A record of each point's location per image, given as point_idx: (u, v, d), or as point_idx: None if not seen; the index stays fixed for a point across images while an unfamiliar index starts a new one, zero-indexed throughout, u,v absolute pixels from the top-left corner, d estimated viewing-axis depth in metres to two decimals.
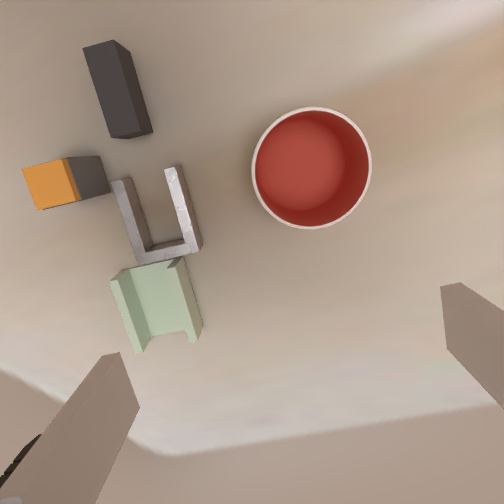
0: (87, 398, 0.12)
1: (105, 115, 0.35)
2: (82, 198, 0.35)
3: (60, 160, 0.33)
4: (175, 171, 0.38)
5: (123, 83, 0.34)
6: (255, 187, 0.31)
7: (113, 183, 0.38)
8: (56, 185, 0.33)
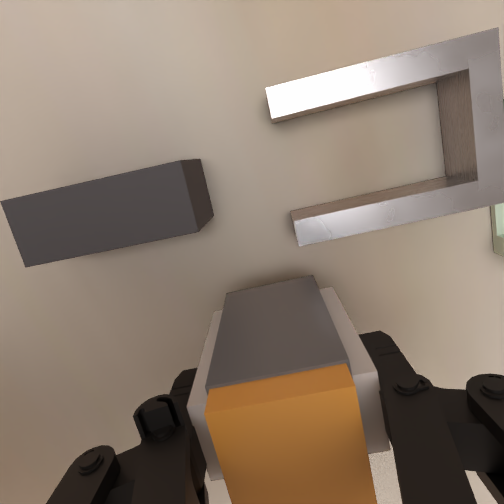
0: None
1: (151, 237, 0.16)
2: (342, 357, 0.10)
3: (209, 415, 0.09)
4: (277, 87, 0.15)
5: (83, 189, 0.15)
6: None
7: (301, 241, 0.17)
8: (295, 439, 0.09)
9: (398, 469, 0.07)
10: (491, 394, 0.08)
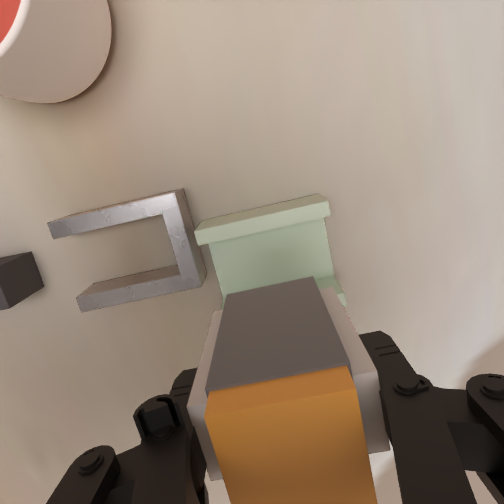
0: None
1: None
2: (343, 359, 0.10)
3: (209, 418, 0.09)
4: (54, 222, 0.26)
5: None
6: None
7: (82, 309, 0.27)
8: (296, 442, 0.09)
9: (398, 469, 0.07)
10: (491, 394, 0.08)
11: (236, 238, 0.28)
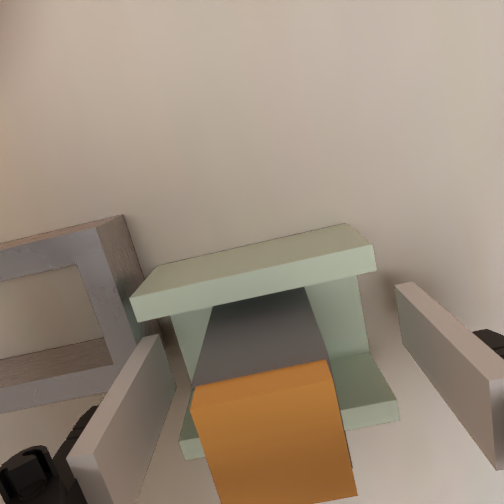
0: (137, 373, 0.13)
1: None
2: (322, 354, 0.10)
3: (194, 411, 0.10)
4: None
5: None
6: None
7: None
8: (277, 432, 0.10)
9: None
10: None
11: None
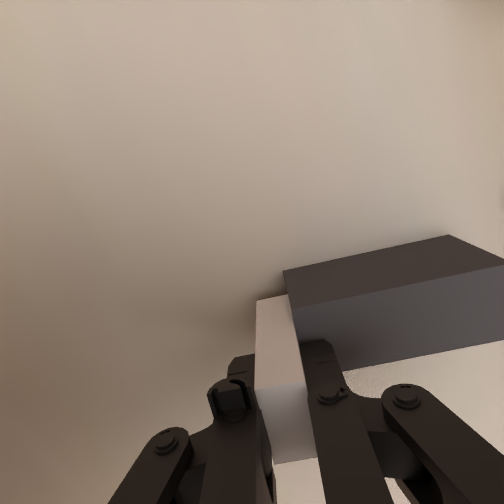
0: (274, 326, 0.14)
1: (461, 344, 0.14)
2: None
3: None
4: None
5: (393, 295, 0.13)
6: None
7: None
8: None
9: (322, 480, 0.07)
10: (403, 404, 0.09)
11: None
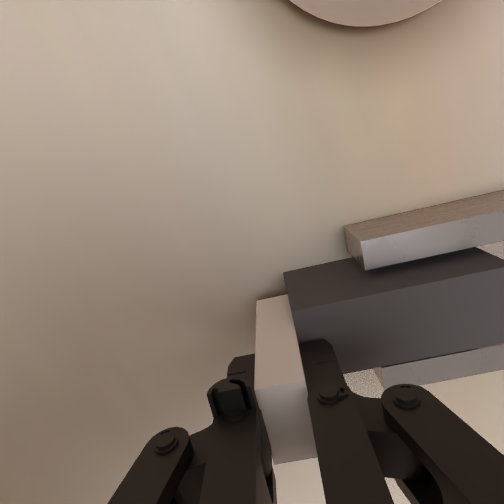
0: (274, 326, 0.14)
1: (462, 347, 0.14)
2: None
3: None
4: (372, 241, 0.14)
5: (393, 297, 0.13)
6: None
7: (388, 386, 0.16)
8: None
9: (322, 480, 0.07)
10: (403, 404, 0.09)
11: None
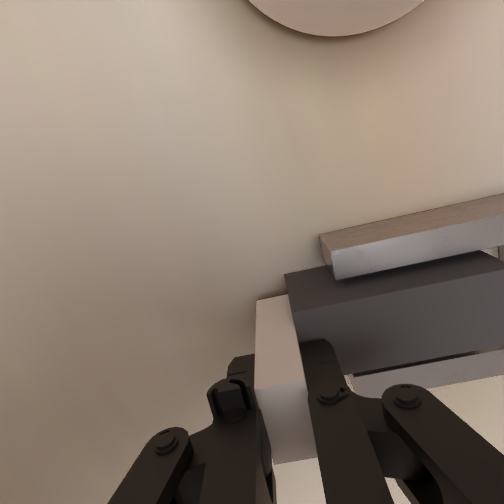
0: (274, 327, 0.14)
1: (463, 349, 0.14)
2: None
3: None
4: (342, 251, 0.14)
5: (394, 299, 0.13)
6: None
7: None
8: None
9: (323, 480, 0.07)
10: (403, 404, 0.09)
11: None
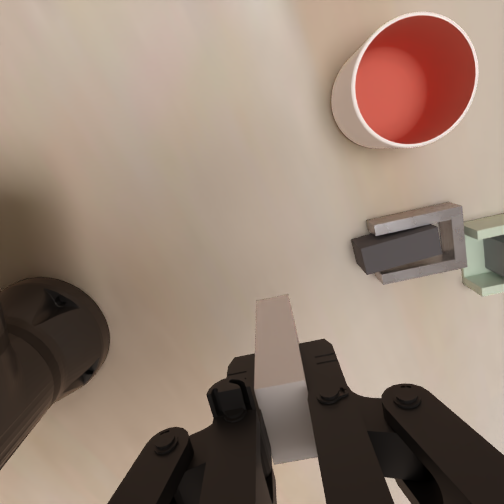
0: (274, 327, 0.14)
1: (422, 258, 0.39)
2: None
3: None
4: (378, 225, 0.39)
5: (396, 241, 0.39)
6: (425, 143, 0.31)
7: (384, 282, 0.41)
8: None
9: (323, 480, 0.07)
10: (403, 404, 0.09)
11: None
